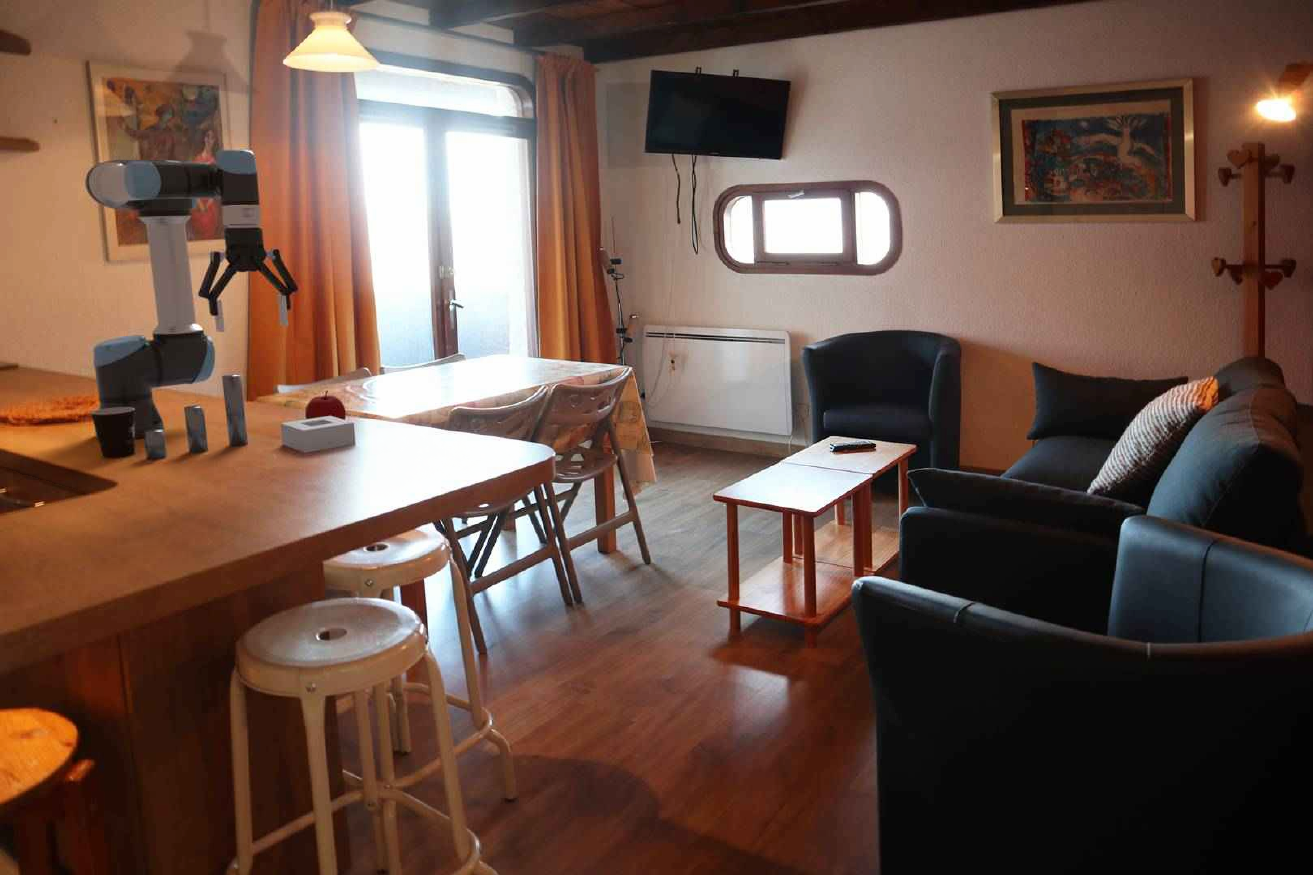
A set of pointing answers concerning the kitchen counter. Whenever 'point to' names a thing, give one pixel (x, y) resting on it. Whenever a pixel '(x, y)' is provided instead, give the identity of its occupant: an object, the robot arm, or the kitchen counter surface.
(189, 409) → the medium pin
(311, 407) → the apple
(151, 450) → the short pin
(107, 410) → the coffee mug
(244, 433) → the long pin
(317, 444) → the hole block
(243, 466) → the kitchen counter surface
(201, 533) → the kitchen counter surface
